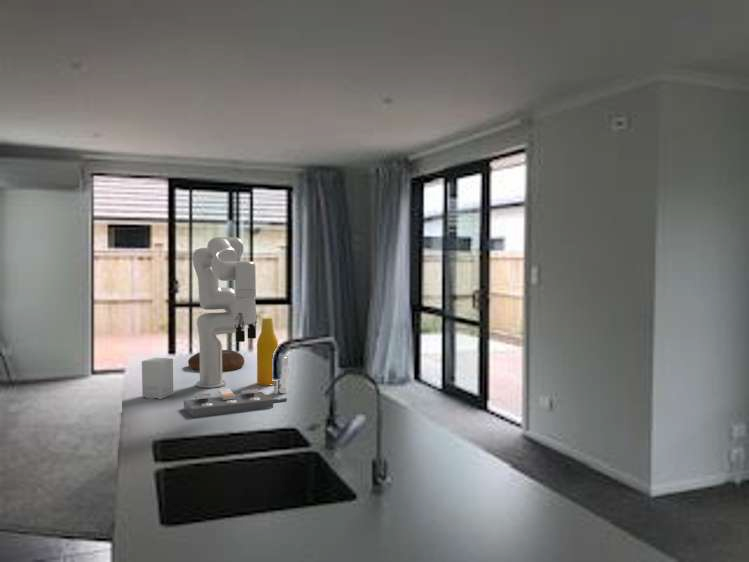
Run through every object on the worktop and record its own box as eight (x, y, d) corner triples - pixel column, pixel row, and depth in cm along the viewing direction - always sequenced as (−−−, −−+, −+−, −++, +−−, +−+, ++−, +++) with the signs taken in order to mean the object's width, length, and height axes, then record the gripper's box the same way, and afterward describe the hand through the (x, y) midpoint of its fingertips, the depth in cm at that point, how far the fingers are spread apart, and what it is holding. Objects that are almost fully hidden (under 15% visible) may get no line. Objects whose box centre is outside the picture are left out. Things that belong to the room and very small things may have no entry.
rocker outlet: (194, 398, 236) (194, 395, 236) (206, 397, 238) (206, 393, 238) (198, 398, 230) (198, 394, 230) (210, 396, 232) (210, 393, 232)
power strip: (184, 408, 235) (183, 398, 234) (280, 397, 253) (280, 387, 253) (192, 417, 222) (192, 406, 222) (293, 404, 241) (293, 395, 241)
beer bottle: (280, 384, 275) (280, 319, 274) (259, 386, 272) (259, 319, 270) (275, 380, 284) (275, 316, 282) (255, 382, 281) (254, 317, 279)
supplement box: (174, 394, 257) (173, 358, 256) (161, 399, 248) (160, 362, 247) (155, 392, 259) (154, 357, 258) (141, 397, 250) (141, 360, 250)
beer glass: (285, 394, 257) (285, 358, 256) (269, 393, 258) (269, 357, 257) (291, 391, 264) (291, 355, 263) (275, 390, 265) (275, 355, 264)
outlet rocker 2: (241, 393, 244) (241, 390, 245) (252, 392, 247) (252, 389, 247) (246, 392, 238) (246, 389, 239) (257, 391, 240) (257, 388, 241)
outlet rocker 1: (218, 391, 240) (218, 388, 240) (229, 390, 242) (229, 387, 242) (223, 399, 234) (223, 396, 234) (234, 398, 236) (235, 395, 236)
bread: (184, 364, 322) (184, 347, 322) (237, 360, 334) (237, 344, 334) (193, 374, 297) (193, 356, 296) (250, 370, 308) (250, 352, 308)
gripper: (246, 293, 244) (247, 336, 244) (225, 295, 227) (226, 342, 228) (264, 293, 242) (265, 337, 243) (244, 295, 225) (245, 343, 226)
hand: (246, 339), depth 235 cm, fingers open, 9 cm apart
